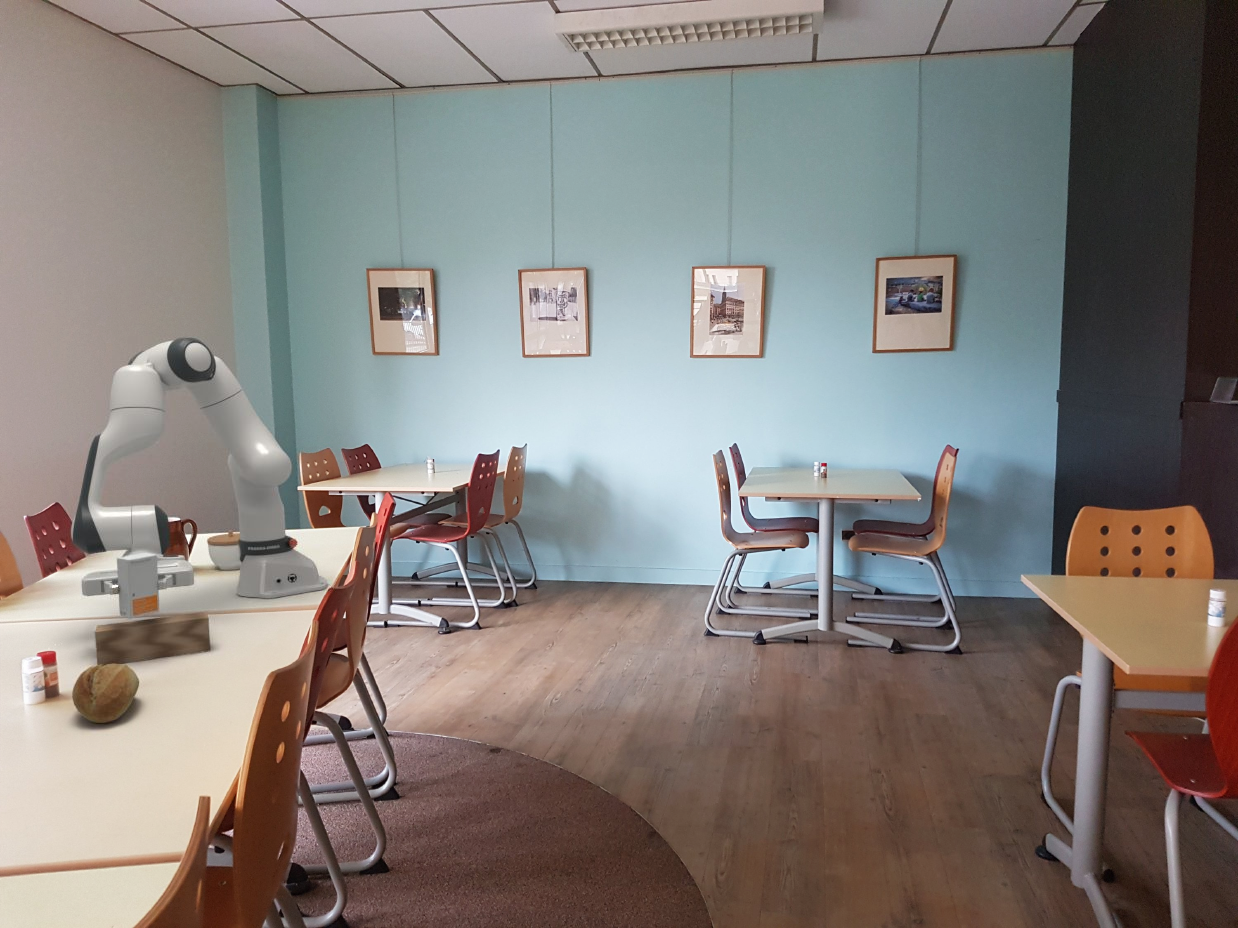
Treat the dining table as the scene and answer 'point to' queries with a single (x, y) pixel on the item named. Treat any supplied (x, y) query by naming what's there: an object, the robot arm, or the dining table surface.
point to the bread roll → (105, 692)
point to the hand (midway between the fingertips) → (138, 587)
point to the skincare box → (138, 585)
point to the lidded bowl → (225, 550)
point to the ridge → (152, 638)
